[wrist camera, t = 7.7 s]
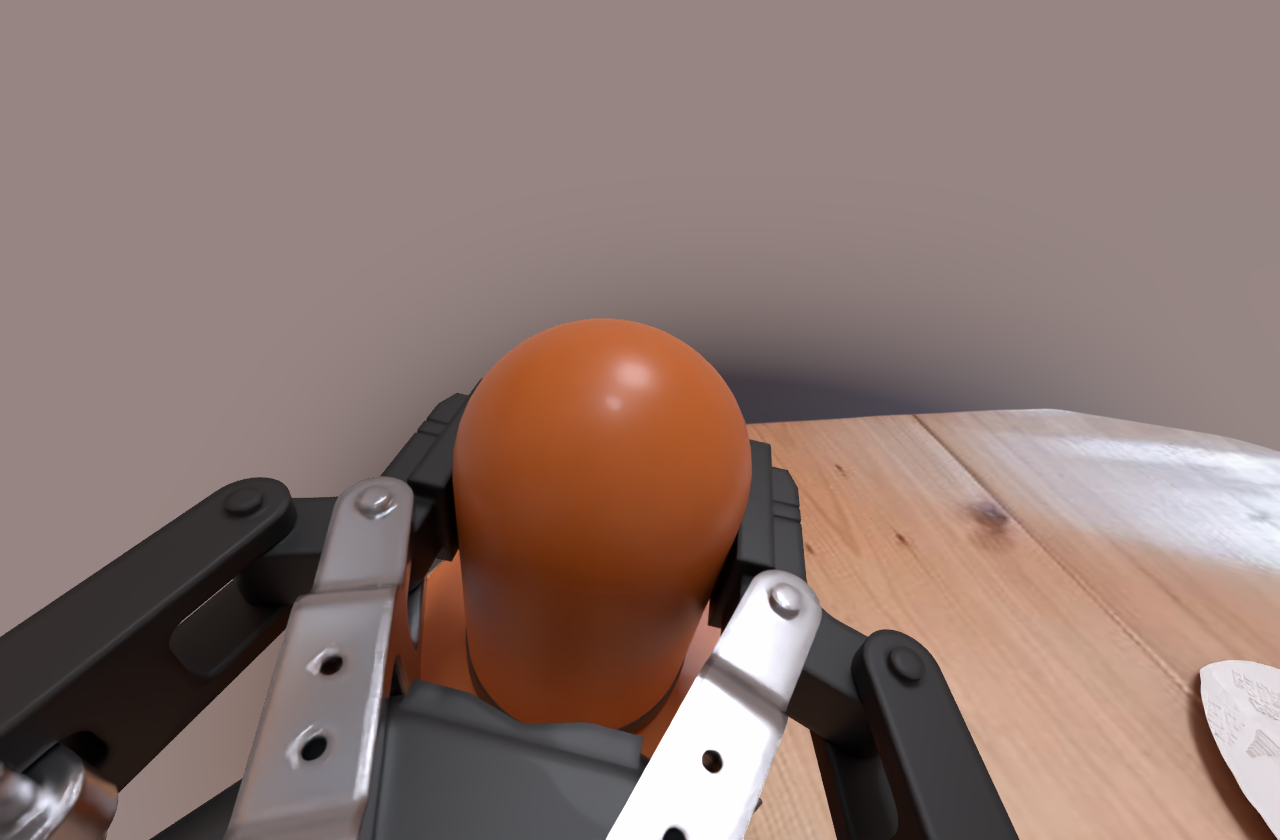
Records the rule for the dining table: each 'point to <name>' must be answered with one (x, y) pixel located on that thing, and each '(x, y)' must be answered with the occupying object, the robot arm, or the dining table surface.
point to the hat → (589, 529)
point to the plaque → (1247, 728)
